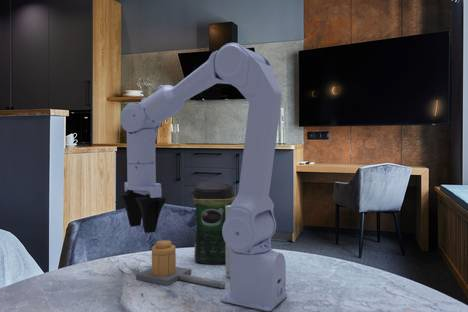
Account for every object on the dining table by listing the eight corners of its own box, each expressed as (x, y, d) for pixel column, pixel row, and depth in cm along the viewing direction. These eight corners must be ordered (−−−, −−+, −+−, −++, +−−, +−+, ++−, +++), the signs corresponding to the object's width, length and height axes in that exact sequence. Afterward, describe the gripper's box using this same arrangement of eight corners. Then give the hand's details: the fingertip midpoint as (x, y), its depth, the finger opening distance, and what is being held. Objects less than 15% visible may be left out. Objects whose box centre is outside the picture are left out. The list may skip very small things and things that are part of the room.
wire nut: (180, 270, 82) (180, 241, 82) (163, 277, 79) (163, 246, 78) (164, 266, 85) (163, 238, 85) (147, 272, 81) (146, 242, 81)
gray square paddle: (235, 282, 78) (235, 259, 78) (213, 295, 71) (213, 271, 71) (161, 268, 87) (161, 248, 87) (136, 279, 80) (135, 257, 80)
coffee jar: (237, 255, 97) (236, 180, 96) (232, 265, 89) (232, 183, 89) (198, 254, 98) (197, 180, 98) (190, 264, 90) (190, 183, 90)
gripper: (175, 163, 78) (176, 232, 78) (145, 161, 90) (146, 221, 90) (141, 165, 74) (142, 237, 74) (114, 162, 86) (115, 225, 86)
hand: (142, 229), depth 82 cm, fingers open, 7 cm apart
